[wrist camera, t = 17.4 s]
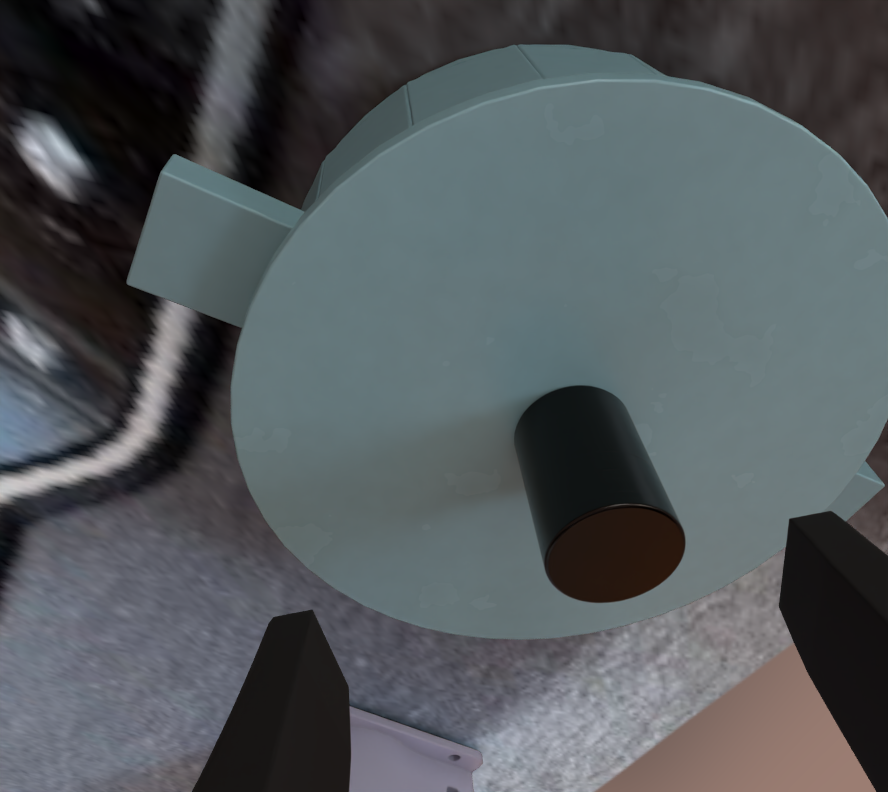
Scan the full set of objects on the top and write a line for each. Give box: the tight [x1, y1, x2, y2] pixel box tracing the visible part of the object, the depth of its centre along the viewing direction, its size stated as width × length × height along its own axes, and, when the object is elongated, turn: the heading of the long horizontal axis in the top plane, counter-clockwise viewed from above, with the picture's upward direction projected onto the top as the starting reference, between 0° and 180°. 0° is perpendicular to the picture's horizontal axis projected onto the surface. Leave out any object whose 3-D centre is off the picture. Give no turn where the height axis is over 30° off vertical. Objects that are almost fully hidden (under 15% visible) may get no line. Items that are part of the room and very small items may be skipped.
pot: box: [127, 44, 885, 521], centre depth 18 cm, size 13×18×5 cm
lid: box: [230, 73, 888, 640], centre depth 14 cm, size 14×14×4 cm
